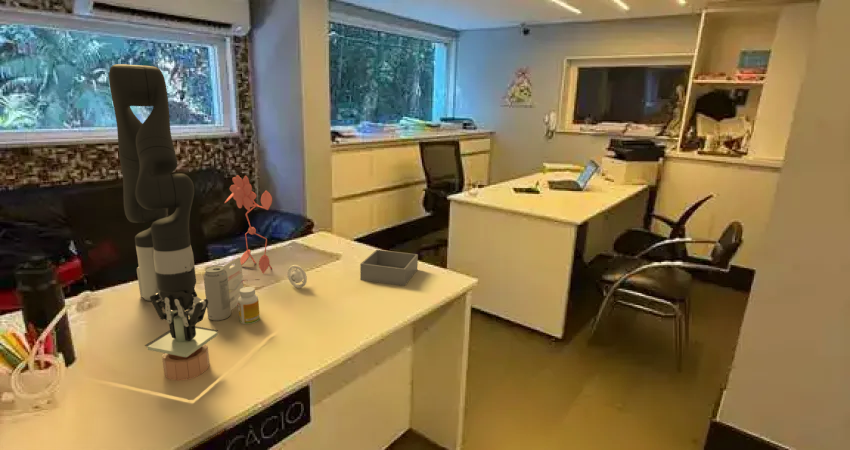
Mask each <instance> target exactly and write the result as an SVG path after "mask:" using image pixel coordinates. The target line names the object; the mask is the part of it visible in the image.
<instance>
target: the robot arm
mask: <svg viewBox="0 0 850 450" xmlns="http://www.w3.org/2000/svg"><path fill="white" fill-rule="evenodd" d="M108 73H109V74H108V81H109V90H110V94H111V99H112V105H113V110H114V116H115V120H116V121H115V122H116V128H117V131H116V132H117V143H118V144H117V146H118V155H119V162H120V169H121V174H122V183H123V210H124V215H125V216H126V217H125V218H127V220H128V221H129V222H130V223H134V224H138V223H139V224H140V223H150V222H152V224H151V226H150V227H149V228H147V229H145V230H142V231H139V232H138V233H137V234H136V235H135V236H134V243H135V250H136V255H137V264H138V267H136V274H137V275H136V276H137V281H138V287H139V294H140V295H139V296H140V298H143V300H145V301H148V302H151V303H152V305H153V307H154V309H155V311H156V313H157V315H158V317H159V320H161V321H164V320H165V321H166V323H167V324H168V326H169V330H170V334H171V335H172V338H175V339H176V335H175V328H174V320H173V318H174V317H175V316H177V315H179V316H180V317H182V319H183V323H184V325H185V326H184V334H185V340H186V341H190V340H192V339H193V338H194V337H195V336H196V330H195V326H196V325H197V324H199V323H200V322H202V321H203V319H204V317H205V314H206V310H207V305H208V300H207V299H206V298H204V299H201V298H200V297H198V294H197V292H196V290H195V287H196V285H197V277H196V276H197V275H196V265H195V261H194V260H195V258H194V251H193V249H192V245H191V244H192V243H191V235H190V216H191V211H192V205H193V201H194V196H195V186H194V182H193V181H192V179H191V178H190V176H189V175H187V174H185V173H174V172H175V171H176V169H177V168H178V158H177V154H176V151H175V146H174V143H173V138H172V133H171V117H170V108H169V98H168V90H167V89H168V88H167V84H166V79H165V77H164V74H163V72H162V70H161V69H160V68H158V67H157V66H153V65H151V66H150V65H138V64H125V63H124V64H123V63H122V64H121V63H119V64H113V65H112V66H110V69H109V72H108ZM131 107H152V110H151V111H150V113H149V114H148V116H147V117H146V119H145V120H144V122H143V123H142V122H141V121H140V119H138V118H137V116H136V115H135V112H134V111H133V110H132V108H131ZM175 208H176V209H175ZM169 209H175V211H174V212H173V213H172V214H171V215H169ZM163 309H164V311H165V312H164V311H163ZM188 316H189V318H188Z"/></svg>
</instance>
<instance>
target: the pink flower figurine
mask: <svg viewBox="0 0 850 450" xmlns="http://www.w3.org/2000/svg"><path fill="white" fill-rule="evenodd" d="M232 183H233V184H231V185H230V186H229V191H230V192H231V194H230V195H228V197H227V198H226V200H225V201H224V204H226V203H227V202H229V201H230V200H231V199H232V198H233V200H234V201H235V203H236V206H237V208H238V209H242V208H243V207H244V208H245V209H246V210H247V211H246V212H245V217H246V220H247V222H248V226H249V227H248V229H247V232H246V233H245V234H244V235H245V237H244V238H245V243H246V244H245V245H246V251H244V252H243V254H242V255H241V256H240V261H241V266H243V265H244V264H245V263H246V262H247V261H248V260H249V258H250V259H251V261H253V263H254V264H257V262H256V260H255V259H254V257H253V256H252V255H251V252H252V250H251V249H249V247H248V246H249V245H248V239H247V234H250V235H256V236H258V237H260V238H262V239H264V240H265V245H264V246H265V247H264V254H262V255H261V256H260V259H259V261H258V266H259V269H260V271H261V273H262V274H264V273H266V271H267V269H268V268H269V269H270V270H272V269H273V267H272V266H271V264H270V258H269V256H268V255H267V254H266V253H267V244H268V239H267V237H265V236H262V235H261V234H258V233H256V232H257V229H256V228H255V227H254V226H251V223H250V220H249V219H250V218H249V216H248V214H249V213H250V212H251V211H252V210H254V209H255V208H256V207H258V208H261V209H263V210H266V211H269V210H270V207H271V206H272V203H273V196H272V195H271V193H270V192H269V191H268V190H265V191H264V192H263V193H262V194H261V197H260V203H261V205H259V204H258V203H256V201H255V199H256V198H257V193H255V192H254V191H252V190H253V186H252V184H251V183H250V179H249V177H248V176H247V175H244V176H243V178H242V177H240V175H238V174H237V175H236V176H234V177H232ZM259 280H260V279H259V278H258V279H256V281H259ZM246 281H247V279H243V282H246Z"/></svg>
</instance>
